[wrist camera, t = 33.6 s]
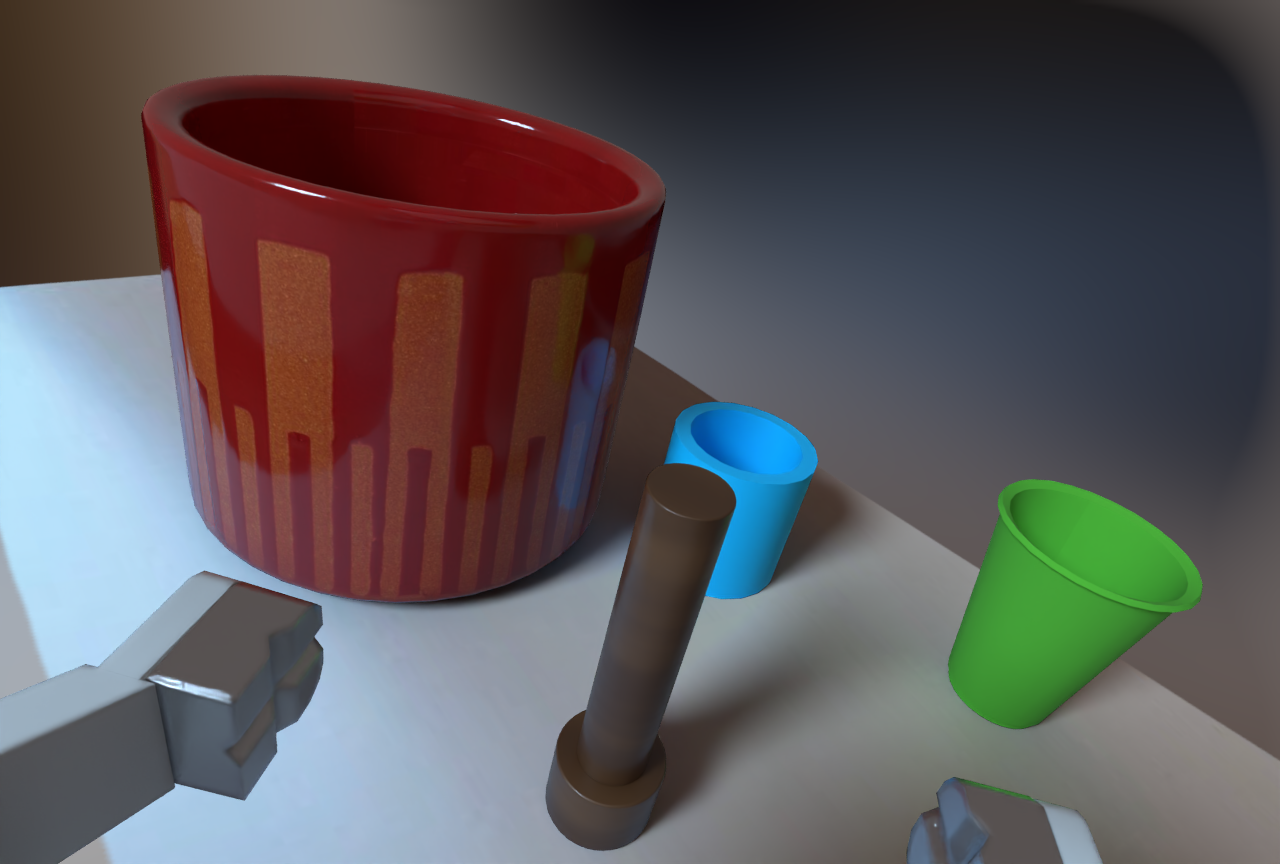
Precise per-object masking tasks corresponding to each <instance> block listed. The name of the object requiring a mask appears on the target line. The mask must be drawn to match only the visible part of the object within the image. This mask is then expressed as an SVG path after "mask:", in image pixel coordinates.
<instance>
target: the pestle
mask: <svg viewBox="0 0 1280 864" xmlns="http://www.w3.org/2000/svg"><path fill="white" fill-rule="evenodd" d="M735 508H736V496H735V493H734V491H733V489H732V488H731V486H730V485H729V484H728V483H727V482H726V481H725V480H724V479H722V478H721V477H720V476H718V475H717V474H715V473H713V472H711V471H709V470H707V469H704V468H702V467H699V466H695V465H691V464H684V463H671V464H665V465H661V466H659V467H657V468H655V469H654V470H652V471H651V472H650V473H649V475H648V476H647V479H646V482H645V486H644V490H643V494H642V498H641V502H640V505H639V509H638V513H637V517H636V521H635V525H634V528H633V532H632V536H631V540H630V544H629V548H628V552H627V555H626V559H625V563H624V567H623V571H622V575H621V578H620V582H619V586H618V590H617V594H616V598H615V602H614V605H613V609H612V613H611V617H610V621H609V625H608V628H607V632H606V636H605V640H604V644H603V648H602V652H601V655H600V659H599V663H598V667H597V671H596V675H595V678H594V682H593V686H592V690H591V694H590V698H589V702H588V705H587V709H586V710H585V711H582V712H580V713H579V714H577V715H575V716H574V717H573V718H572V719H570V720H569V721H568V722H567V723H566V725H565V726H564V727H563V729H562V731H561V732H560V734H559V737H558V740H557V744H556V748H555V752H554V757H553V761H552V765H551V769H550V773H549V778H548V782H547V787H546V804H547V809H548V812H549V814H550V817H551V819H552V821H553V823H554V824H555V826H556V827H557V828H558V830H559V831H560V832H561V833H562V834H563V835H564V836H565V837H566V838H568V839H569V840H570V841H572V842H574V843H575V844H577V845H579V846H582V847H584V848H587V849H592V850H601V851H604V850H613V849H617V848H620V847H622V846H625V845H627V844H628V843H630V842H632V841H633V840H634V839H636V838H637V837H638V836H639V835H640V833H641V832H642V831H643V829H644V828H645V826H646V824H647V822H648V820H649V817H650V814H651V811H652V809H653V806H654V803H655V801H656V798H657V795H658V793H659V790H660V787H661V785H662V782H663V779H664V777H665V772H666V754H665V750H664V747H663V744H662V741H661V740H660V738H659V736H658V734H657V733H658V730H659V727H660V724H661V721H662V718H663V716H664V713H665V710H666V707H667V704H668V701H669V698H670V695H671V692H672V690H673V687H674V684H675V681H676V678H677V675H678V672H679V669H680V666H681V664H682V661H683V658H684V655H685V652H686V649H687V646H688V643H689V640H690V638H691V635H692V632H693V629H694V626H695V623H696V620H697V617H698V614H699V612H700V609H701V606H702V603H703V600H704V597H705V594H706V591H707V588H708V586H709V583H710V580H711V577H712V574H713V571H714V568H715V565H716V562H717V560H718V557H719V554H720V551H721V548H722V545H723V542H724V539H725V536H726V534H727V531H728V528H729V525H730V522H731V519H732V516H733V513H734V510H735Z"/></svg>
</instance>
